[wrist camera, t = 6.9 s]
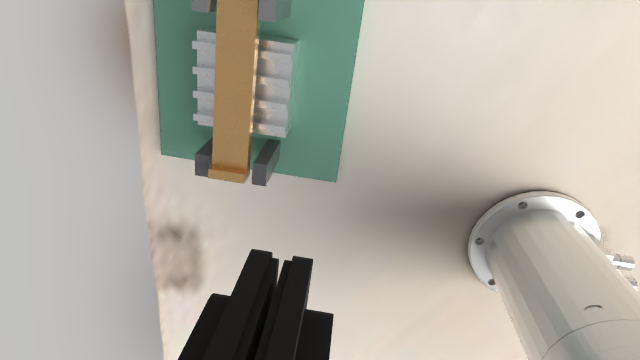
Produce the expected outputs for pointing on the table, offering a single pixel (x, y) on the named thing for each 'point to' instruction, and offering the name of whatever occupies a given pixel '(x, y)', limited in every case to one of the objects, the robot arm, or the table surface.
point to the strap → (234, 88)
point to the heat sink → (271, 73)
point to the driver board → (310, 90)
